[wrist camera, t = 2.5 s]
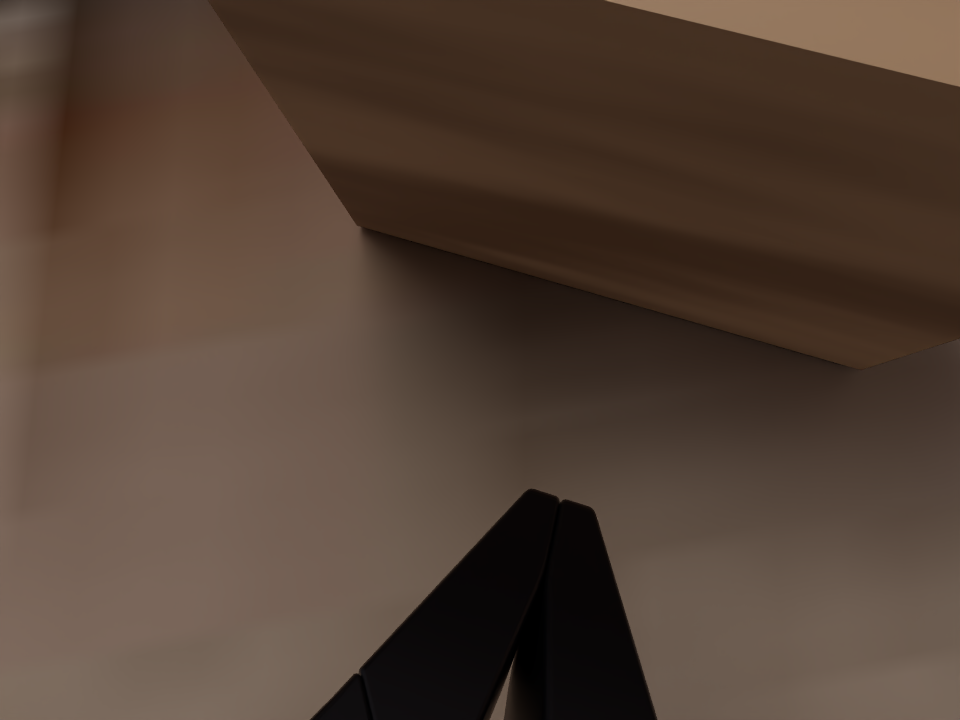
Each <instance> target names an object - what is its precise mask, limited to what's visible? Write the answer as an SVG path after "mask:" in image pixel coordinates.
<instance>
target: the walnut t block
mask: <svg viewBox="0 0 960 720" xmlns="http://www.w3.org/2000/svg"><path fill="white" fill-rule="evenodd" d="M208 1H209V3H210V4H211V6H212V7H213V9H214V10H215V12H216V13H217V15H218V16H219V18H220V19H221V21H222V22H223V24H224V26H225V27H226V29H227V30H228V32H229V33H230V35H231V36H232V38H233V39H234V41H235V42H236V44H237V45H238V47H239V48H240V50H241V51H242V53H243V54H244V56H245V57H246V59H247V60H248V62H249V63H250V65H251V66H252V68H253V69H254V71H255V72H256V74H257V75H258V77H259V78H260V80H261V81H262V83H263V84H264V86H265V87H266V89H267V90H268V92H269V93H270V95H271V96H272V98H273V99H274V101H275V102H276V104H277V105H278V107H279V109H280V110H281V112H282V113H283V115H284V116H285V118H286V119H287V121H288V122H289V124H290V125H291V127H292V128H293V130H294V131H295V133H296V134H297V136H298V137H299V139H300V140H301V142H302V143H303V145H304V146H305V148H306V149H307V151H308V152H309V154H310V155H311V157H312V158H313V160H314V161H315V163H316V164H317V166H318V167H319V169H320V170H321V172H322V173H323V175H324V176H325V178H326V179H327V181H328V182H329V184H330V185H331V187H332V188H333V190H334V192H335V193H336V195H337V196H338V198H339V199H340V201H341V202H342V204H343V205H344V207H345V208H346V210H347V211H348V213H349V214H350V216H351V217H352V219H353V220H354V222H355V223H356V225H357V226H361V227H364V228H368V229H371V230H375V231H378V232H382V233H385V234H389V235H392V236H396V237H399V238H403V239H406V240H410V241H413V242H417V243H420V244H424V245H427V246H431V247H434V248H438V249H441V250H444V251H448V252H451V253H455V254H458V255H462V256H465V257H469V258H472V259H476V260H479V261H483V262H486V263H490V264H493V265H497V266H500V267H504V268H507V269H511V270H514V271H518V272H521V273H525V274H528V275H532V276H535V277H539V278H542V279H546V280H549V281H553V282H556V283H559V284H563V285H566V286H570V287H573V288H577V289H580V290H584V291H587V292H591V293H594V294H598V295H601V296H605V297H608V298H612V299H615V300H619V301H622V302H626V303H629V304H633V305H636V306H640V307H643V308H647V309H650V310H654V311H657V312H661V313H664V314H667V315H671V316H674V317H678V318H681V319H685V320H688V321H692V322H695V323H699V324H702V325H706V326H709V327H713V328H716V329H720V330H723V331H727V332H730V333H734V334H737V335H741V336H744V337H748V338H751V339H755V340H758V341H762V342H765V343H769V344H772V345H775V346H779V347H782V348H786V349H789V350H793V351H796V352H800V353H803V354H807V355H810V356H814V357H817V358H821V359H824V360H828V361H831V362H835V363H838V364H842V365H845V366H849V367H852V368H856V369H859V370H863V369H866V368H869V367H872V366H875V365H878V364H881V363H884V362H888V361H891V360H894V359H897V358H900V357H903V356H906V355H909V354H913V353H916V352H919V351H922V350H925V349H928V348H931V347H934V346H938V345H941V344H944V343H947V342H950V341H953V340H956V339H959V338H960V0H208Z"/></svg>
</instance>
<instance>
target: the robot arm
mask: <svg viewBox="0 0 960 720" xmlns="http://www.w3.org/2000/svg"><path fill="white" fill-rule="evenodd" d="M559 503H560V504H559ZM514 656H515V657H514ZM513 659H514V661H513ZM512 662H513V665H512V670H511V676H510V682H509V688H508V695H507V702H506V709H505V716H504V720H657V716H656V713H655V710H654V706H653V703H652V700H651V696H650V693H649V690H648V686H647V683H646V680H645V676H644V673H643V670H642V666H641V663H640V660H639V656H638V653H637V650H636V646H635V643H634V640H633V636H632V633H631V630H630V626H629V623H628V620H627V616H626V613H625V610H624V606H623V603H622V600H621V597H620V593H619V590H618V587H617V583H616V580H615V577H614V573H613V570H612V567H611V563H610V560H609V557H608V553H607V550H606V547H605V543H604V540H603V537H602V533H601V530H600V527H599V523H598V520H597V517H596V514H595V512H594V510H593V509H592V508H591V507H589V506H586V505H582V504H579V503H576V502H573V501H570V500H566V499H565V500H562V501H561V502H560V501H559V498H558V497H557V496H554V495H551V494H548V493H545V492H542V491H539V490H535V489H528V490H527V491H525V492H524V493H523V494H522V496H521V497H520V498H519V499H518V500H517V501H516V502H515V503H514V504H513V505H512V506H511V507H510V508H509V509H508V511H507V512H506V513H505V514H504V515H503V516H502V517H501V518H500V519H499V520H498V521H497V522H496V523H495V524H494V525H493V527H492V528H491V529H490V530H489V531H488V532H487V533H486V534H485V535H484V536H483V537H482V538H481V539H480V540H479V542H478V543H477V544H476V545H475V546H474V547H473V548H472V549H471V550H470V551H469V552H468V553H467V554H466V555H465V556H464V558H463V559H462V560H461V561H460V562H459V563H458V564H457V565H456V566H455V567H454V568H453V569H452V570H451V571H450V573H449V574H448V575H447V576H446V577H445V578H444V579H443V580H442V581H441V582H440V583H439V584H438V585H437V586H436V587H435V589H434V590H433V591H432V592H431V593H430V594H429V595H428V596H427V597H426V598H425V599H424V600H423V601H422V602H421V604H420V605H419V606H418V607H417V608H416V609H415V610H414V611H413V612H412V613H411V614H410V615H409V616H408V617H407V618H406V620H405V621H404V622H403V623H402V624H401V625H400V626H399V627H398V628H397V629H396V630H395V631H394V632H393V633H392V635H391V636H390V637H389V638H388V639H387V640H386V641H385V642H384V643H383V644H382V645H381V646H380V647H379V648H378V649H377V651H376V652H375V653H374V654H373V655H372V656H371V657H370V658H369V659H368V660H367V661H366V662H365V663H364V664H363V666H362V667H361V668H360V669H359V674H357V673H356V674H354V675H353V676H352V677H351V678H350V679H349V680H348V681H347V682H346V683H345V684H344V685H343V686H342V687H341V688H340V690H339V691H338V692H337V693H336V694H335V695H334V696H333V697H332V698H331V699H330V700H329V701H328V702H327V703H326V704H325V705H324V706H323V707H322V708H321V709H320V710H319V711H318V712H317V713H316V714H315V715H314V716H313V717H312V718H311V719H310V720H490V718H491V715H492V713H493V710H494V708H495V705H496V703H497V700H498V698H499V696H500V693H501V691H502V688H503V686H504V683H505V680H506V678H507V675H508V672H509V670H510V667H511V664H512Z"/></svg>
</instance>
